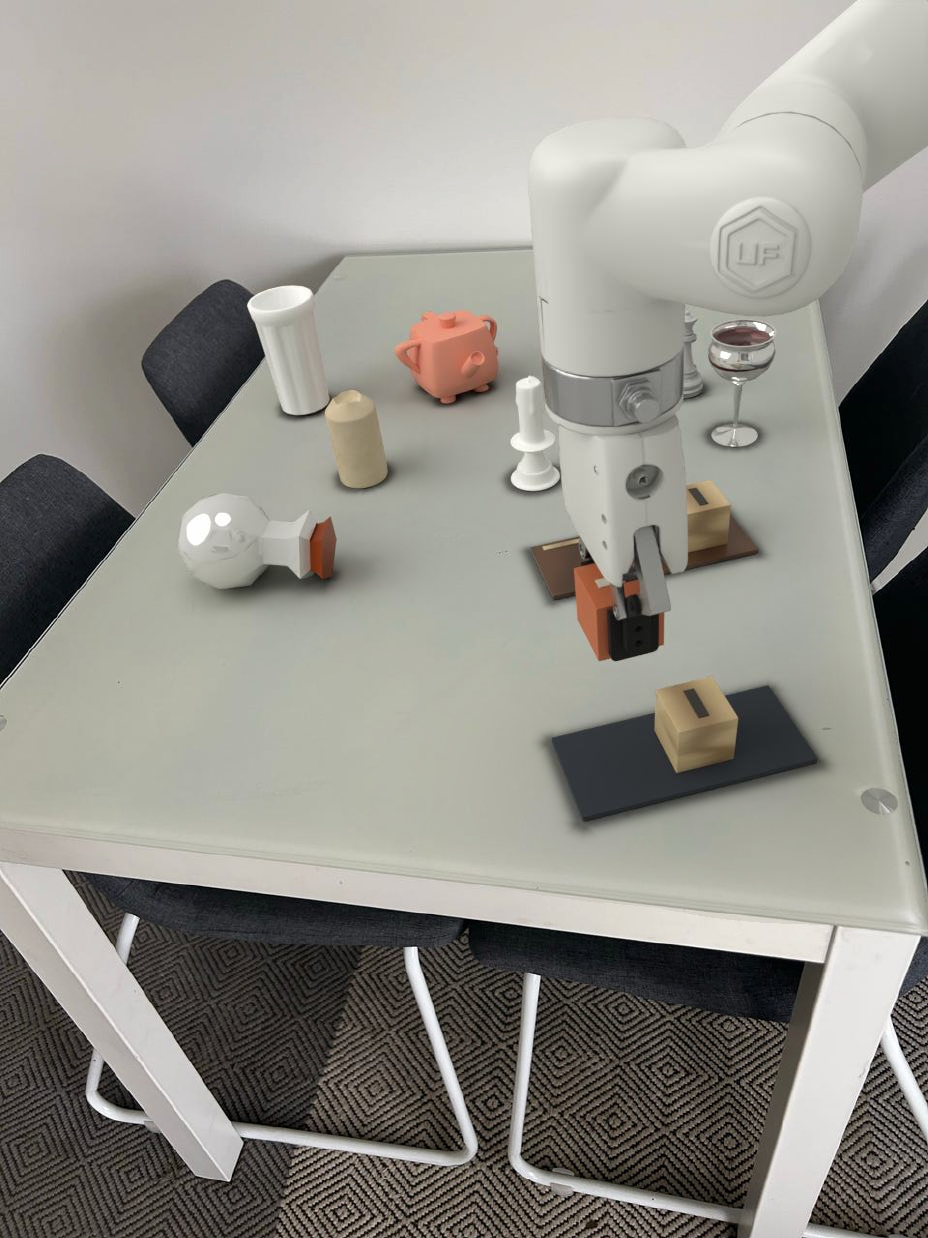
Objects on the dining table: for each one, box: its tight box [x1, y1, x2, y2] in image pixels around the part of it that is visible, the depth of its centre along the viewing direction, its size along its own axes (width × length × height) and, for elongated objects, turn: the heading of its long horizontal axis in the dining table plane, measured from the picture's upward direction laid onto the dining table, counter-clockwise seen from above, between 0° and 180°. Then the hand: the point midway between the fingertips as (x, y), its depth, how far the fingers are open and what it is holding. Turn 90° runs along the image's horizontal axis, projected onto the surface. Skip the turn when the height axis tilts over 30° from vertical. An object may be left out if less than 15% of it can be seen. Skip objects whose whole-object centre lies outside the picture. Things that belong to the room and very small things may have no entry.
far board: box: [529, 514, 759, 600], centre depth 90 cm, size 20×8×1 cm, turn 102°
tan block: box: [654, 675, 738, 773], centre depth 69 cm, size 4×4×5 cm
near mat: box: [551, 684, 819, 822], centre depth 71 cm, size 18×8×1 cm, turn 102°
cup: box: [246, 284, 330, 416], centre depth 116 cm, size 8×8×14 cm
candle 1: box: [324, 389, 389, 489], centre depth 103 cm, size 6×6×10 cm
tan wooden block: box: [686, 479, 732, 552], centre depth 89 cm, size 4×4×5 cm
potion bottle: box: [175, 492, 338, 590], centre depth 91 cm, size 9×10×15 cm
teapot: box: [394, 309, 499, 404], centre depth 117 cm, size 12×12×10 cm
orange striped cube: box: [574, 560, 665, 662], centre depth 61 cm, size 4×4×5 cm
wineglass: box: [707, 318, 778, 448], centre depth 100 cm, size 7×7×12 cm
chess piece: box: [683, 309, 704, 399], centre depth 110 cm, size 4×4×10 cm
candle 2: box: [510, 375, 561, 492], centre depth 98 cm, size 5×5×12 cm
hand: (619, 626), depth 62 cm, fingers closed on orange striped cube, 4 cm apart
